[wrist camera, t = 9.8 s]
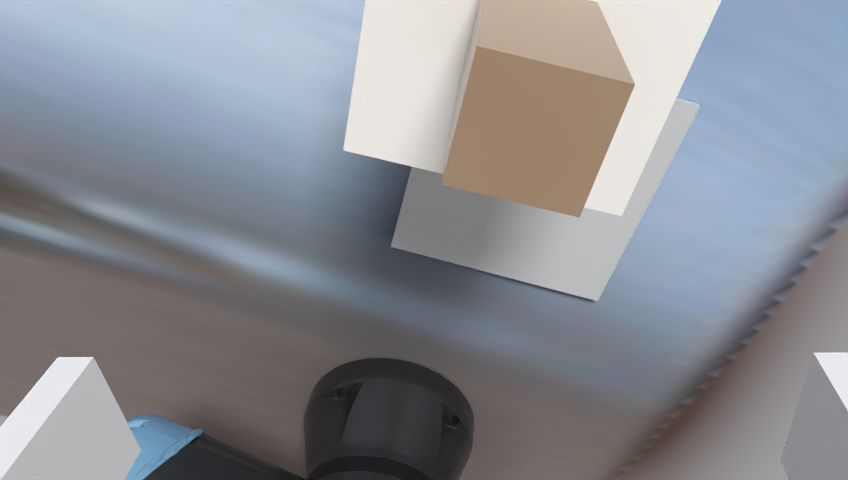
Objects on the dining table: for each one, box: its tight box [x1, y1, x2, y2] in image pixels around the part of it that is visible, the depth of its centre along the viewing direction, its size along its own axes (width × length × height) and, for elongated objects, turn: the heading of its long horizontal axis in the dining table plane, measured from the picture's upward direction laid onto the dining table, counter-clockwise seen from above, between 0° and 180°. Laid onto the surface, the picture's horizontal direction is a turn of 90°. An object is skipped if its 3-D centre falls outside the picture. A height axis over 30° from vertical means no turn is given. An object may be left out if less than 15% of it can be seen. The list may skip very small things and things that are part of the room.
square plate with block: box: [343, 0, 721, 218], centre depth 21 cm, size 12×12×9 cm
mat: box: [391, 97, 700, 301], centre depth 43 cm, size 16×16×1 cm
